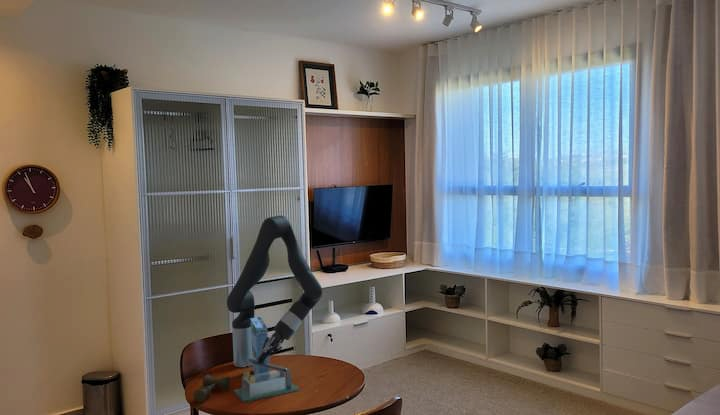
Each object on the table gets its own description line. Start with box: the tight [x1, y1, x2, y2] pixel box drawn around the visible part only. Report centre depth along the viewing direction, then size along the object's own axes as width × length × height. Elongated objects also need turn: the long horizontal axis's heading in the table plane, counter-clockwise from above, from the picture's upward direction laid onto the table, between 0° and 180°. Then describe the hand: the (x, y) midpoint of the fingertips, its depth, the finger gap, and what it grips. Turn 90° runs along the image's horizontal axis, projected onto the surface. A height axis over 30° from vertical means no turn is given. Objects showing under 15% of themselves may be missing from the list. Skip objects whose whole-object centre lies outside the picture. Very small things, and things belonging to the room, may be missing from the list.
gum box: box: [250, 316, 271, 374], centre depth 236 cm, size 20×5×23 cm, turn 17°
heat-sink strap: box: [249, 359, 289, 373], centre depth 219 cm, size 4×16×1 cm, turn 119°
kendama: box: [193, 374, 231, 404], centre depth 219 cm, size 6×10×20 cm
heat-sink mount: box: [233, 365, 300, 404], centre depth 219 cm, size 13×22×8 cm, turn 119°
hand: (259, 361), depth 217 cm, fingers closed
